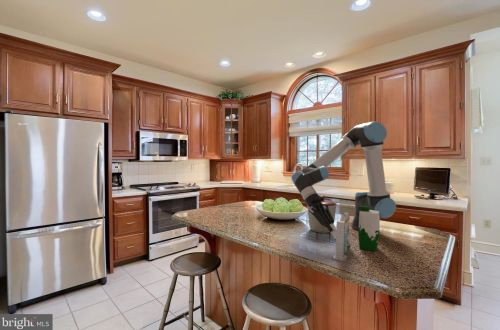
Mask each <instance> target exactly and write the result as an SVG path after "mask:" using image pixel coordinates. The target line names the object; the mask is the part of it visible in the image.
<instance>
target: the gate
mask: <svg viewBox="0 0 500 330" xmlns="http://www.w3.org/2000/svg"><path fill="white" fill-rule="evenodd" d="M339 221H345V232H347V221H348V218H345V217H344V216H343V218H341V219H340V220H339Z"/></svg>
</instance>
